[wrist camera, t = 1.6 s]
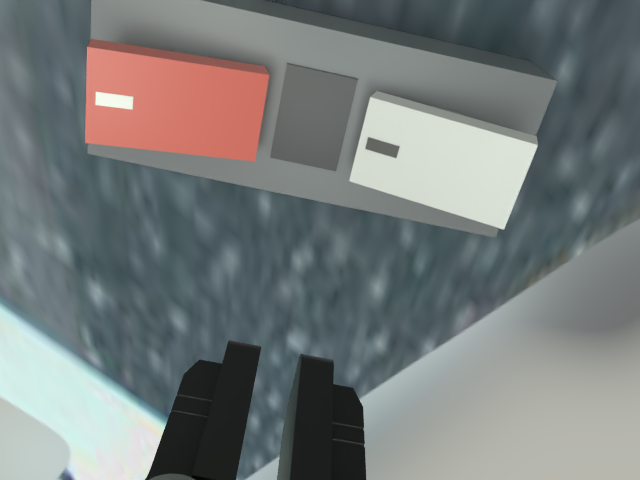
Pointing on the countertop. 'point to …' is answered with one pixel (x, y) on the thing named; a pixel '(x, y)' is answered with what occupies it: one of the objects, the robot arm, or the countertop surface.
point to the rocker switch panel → (323, 92)
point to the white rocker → (442, 159)
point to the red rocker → (173, 101)
